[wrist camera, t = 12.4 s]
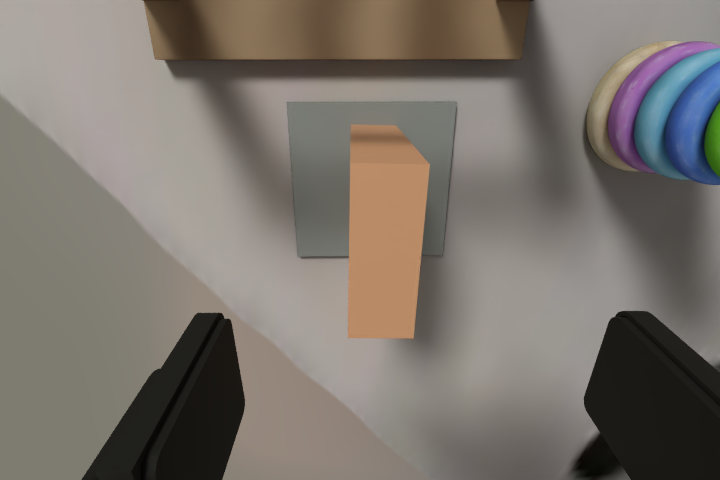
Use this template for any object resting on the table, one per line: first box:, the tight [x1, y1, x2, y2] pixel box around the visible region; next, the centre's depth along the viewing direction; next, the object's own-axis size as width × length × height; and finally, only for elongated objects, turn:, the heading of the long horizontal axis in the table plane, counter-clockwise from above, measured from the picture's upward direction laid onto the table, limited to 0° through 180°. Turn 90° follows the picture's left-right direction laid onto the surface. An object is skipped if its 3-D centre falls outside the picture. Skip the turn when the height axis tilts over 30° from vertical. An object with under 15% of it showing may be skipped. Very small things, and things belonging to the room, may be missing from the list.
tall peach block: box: [348, 124, 430, 338], centre depth 22 cm, size 3×8×12 cm, turn 179°
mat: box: [287, 102, 457, 257], centre depth 27 cm, size 11×11×1 cm
